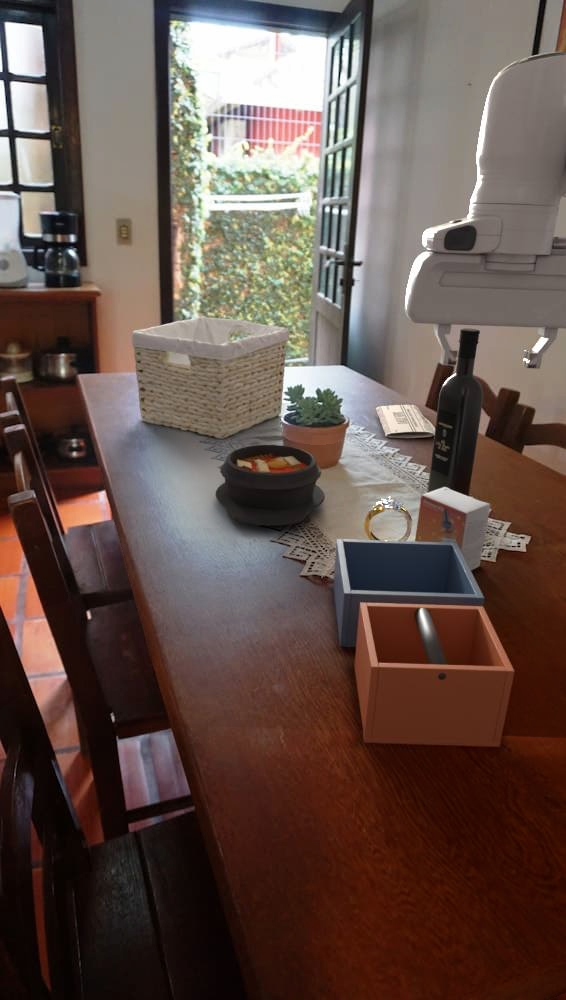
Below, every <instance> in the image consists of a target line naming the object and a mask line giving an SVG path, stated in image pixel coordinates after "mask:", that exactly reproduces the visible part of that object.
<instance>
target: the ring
mask: <svg viewBox="0 0 566 1000" xmlns="http://www.w3.org/2000/svg"><path fill="white" fill-rule="evenodd" d="M396 500H397V501H396ZM403 506H404V502H402V501H400V500H399V499H397V498H396V497H393V499H392V497H391V496H388V498H387V499H384V498H381V499H380V501H378V502H376V503H375V504H373V505H372V506H371V508H370V509H369V510H368V513H367V514H366V517H365V520H364V523H363V524H364V531H365V535H366V536H367V538H368V540H380V539H379V538H378V537H376V536H375V534H374V533H373V532H372V529H371V526H370V523H371V521H372V519H373V518H374V517H375V516H377V515H379V514H381V513H384V512H385V511H395V512H398V513H400V514H401V515H402V516H403V517H404V519H405V521H406V531H405V533H404V535H403V536H402V537H401V538H400V539H398V540H397V541H408V539H409V537H410V536H411V533H412V530H413V519H412V516H411V514H410V512H409V511H408V510H407V509H406V508H405V507H403ZM386 540H387V541H389V540H388V539H386Z"/></svg>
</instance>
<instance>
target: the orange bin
mask: <svg viewBox="0 0 566 1000" xmlns="http://www.w3.org/2000/svg"><path fill="white" fill-rule="evenodd" d="M354 673H355V681H356V688H357V695H358V701H359V702H358V703H359V709H360V710H359V711H360V714H361V715H360V717H361V724H362V731H361V732H362V738H363V743H366V744H398V745H400V744H401V745H432V746H461V747H463V746H465V747H494V748H500V747H501V741H502V736H503V730H504V726H505V722H506V716H507V711H508V707H509V702H510V695H511V691H512V686H513V681H514V677H515V676H514V675H515V669H514V667H513V665H512V663H511V661H510V659H509V657H508V654H507V653H506V651H505V649H504V647H503V644H502V643H501V641H500V638H499V636H498V634H497V632H496V630H495V628H494V625H493V623H492V622H491V619H490V618H489V616H488V614H487V611H486V609H485V607H484V605H483V606H456V605H424V604H392V603H360V608H359V620H358V632H357V643H356V647H355V656H354Z"/></svg>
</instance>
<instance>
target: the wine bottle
mask: <svg viewBox="0 0 566 1000" xmlns="http://www.w3.org/2000/svg"><path fill="white" fill-rule="evenodd" d="M480 333H481V330H479V329H476V328H468V327H466V328H461V329H460V331H459V339H458V343H459V344H458V345H459V346H458V355H457V359H456V360H457V362H456V368H455V373H454V374H452V375H451V376H450V377H448V378H447V379H446V380H445V381H444V383H443V384H442V386H441V387H440V388H441V389H440V391H439V395H438V396H439V397H438V403H437V411H436V419H435V426H434V428H435V434H434V435H433V441H432V442H433V444H432V451H431V452H432V453H431V460H430V467H429V476H428V482H427V484H428V485H427V492H426V493H428V492H431V491H434V490H437V489H440V488H443V487H447V488H449V489H451V490H453V491H456V492H458V493H461V494H463V495H466V496H469V497H470V489H471V485H472V484H471V483H472V476H473V470H474V463H475V457H476V449H477V442H478V436H479V431H480V430H479V429H480V422H481V416H482V410H483V403H484V390H483V386H482V384H481V382H480V381H479V380H478V378H477V377H475V376H474V368H475V361H476V355H477V349H478V348H477V347H478V345H479V339H480Z"/></svg>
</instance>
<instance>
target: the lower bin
mask: <svg viewBox="0 0 566 1000" xmlns="http://www.w3.org/2000/svg"><path fill="white" fill-rule="evenodd" d="M387 540H388V539H386V540H385V539H384V540H383V539H382V540H381V539H379V540H370V539H356V538H355V539H351V538H336V542H335V557H334V573H333V586H332V587H333V596H334V605H335V611H336V612H335V613H336V620H337V621H336V622H337V630H338V631H337V632H338V640H339V646H340V647H342V648H343V647H345V648H347V647H348V648H356V643H357V632H358V620H359V608H360V603H392V604H424V605H456V606H483V607H484V603H485V596H484V594H483V592H482V590H481V588H480V586H479V584H478V582H477V580H476V578H475V576H474V574H473V572H472V570H470V568H469V566H468V564H467V562H466V560H465V558H464V556H463V554H462V552H461V550H460V548H459V546H458V544H457V543H448V542H417V541H415V540H414V541H413V540H406V541H398V540H388V541H387Z"/></svg>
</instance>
